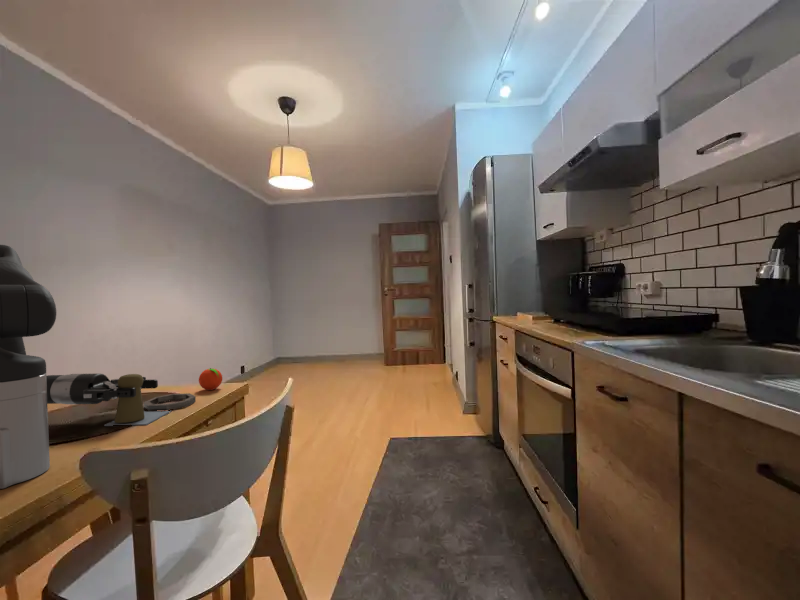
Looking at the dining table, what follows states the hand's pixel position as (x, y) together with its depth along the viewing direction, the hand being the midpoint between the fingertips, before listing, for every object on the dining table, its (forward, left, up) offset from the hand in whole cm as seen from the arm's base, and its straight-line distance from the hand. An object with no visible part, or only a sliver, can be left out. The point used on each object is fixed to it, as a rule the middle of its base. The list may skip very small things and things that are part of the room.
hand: (146, 387), depth 95 cm
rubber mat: (0, +2, -8) cm, 8 cm away
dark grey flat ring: (+11, +1, -8) cm, 14 cm away
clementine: (+27, -3, -8) cm, 29 cm away
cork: (-2, +3, -7) cm, 8 cm away
